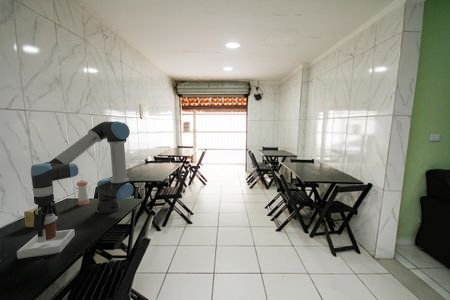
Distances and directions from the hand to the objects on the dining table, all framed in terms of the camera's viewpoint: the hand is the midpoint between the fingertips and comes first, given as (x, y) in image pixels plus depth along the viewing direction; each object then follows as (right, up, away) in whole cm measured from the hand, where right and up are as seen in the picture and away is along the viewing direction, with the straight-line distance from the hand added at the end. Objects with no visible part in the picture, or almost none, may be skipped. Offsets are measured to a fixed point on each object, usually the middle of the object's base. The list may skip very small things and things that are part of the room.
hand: (47, 236), depth 103 cm
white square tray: (0, -5, +1) cm, 5 cm away
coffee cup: (0, -1, 0) cm, 1 cm away
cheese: (-25, -2, +23) cm, 35 cm away
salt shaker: (-21, +2, +57) cm, 61 cm away
